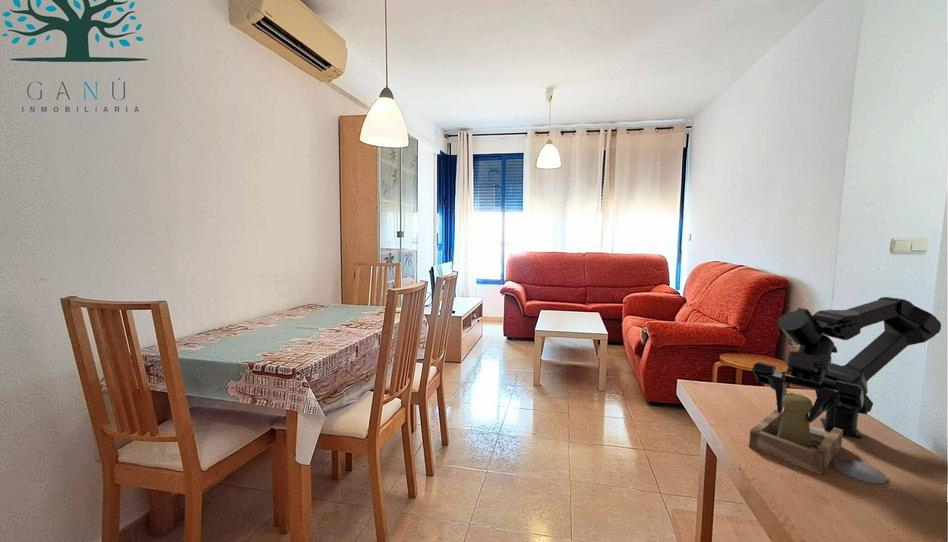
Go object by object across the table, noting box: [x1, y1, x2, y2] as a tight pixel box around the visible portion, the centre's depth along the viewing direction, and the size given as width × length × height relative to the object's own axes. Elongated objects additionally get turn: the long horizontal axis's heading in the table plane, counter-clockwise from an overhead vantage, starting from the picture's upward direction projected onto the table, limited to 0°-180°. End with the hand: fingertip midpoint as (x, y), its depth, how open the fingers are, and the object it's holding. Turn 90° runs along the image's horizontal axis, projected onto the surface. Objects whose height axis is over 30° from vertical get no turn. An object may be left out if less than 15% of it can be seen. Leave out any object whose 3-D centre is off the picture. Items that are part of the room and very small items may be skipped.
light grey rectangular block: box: [809, 425, 827, 448], centre depth 90 cm, size 4×7×3 cm, turn 44°
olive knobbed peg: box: [776, 392, 814, 449], centre depth 85 cm, size 6×6×11 cm
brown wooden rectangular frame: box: [748, 409, 844, 475], centre depth 87 cm, size 17×12×4 cm
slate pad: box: [832, 457, 887, 485], centre depth 78 cm, size 8×8×1 cm
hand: (793, 416), depth 84 cm, fingers closed on olive knobbed peg, 5 cm apart
